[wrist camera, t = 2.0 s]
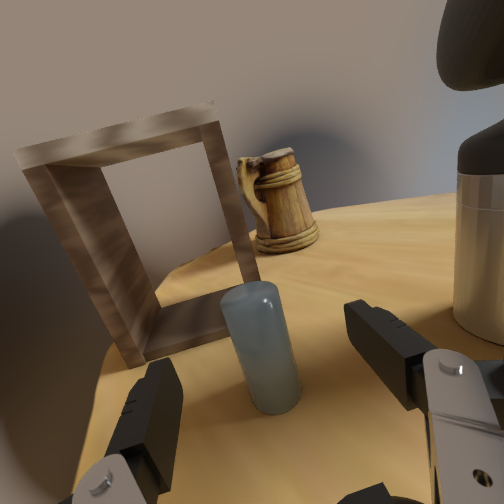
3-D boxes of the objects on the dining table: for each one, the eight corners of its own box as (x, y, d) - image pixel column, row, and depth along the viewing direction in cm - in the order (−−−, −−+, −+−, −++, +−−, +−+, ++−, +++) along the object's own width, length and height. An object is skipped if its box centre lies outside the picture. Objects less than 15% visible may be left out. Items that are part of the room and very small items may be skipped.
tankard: (328, 229, 73) (315, 139, 64) (296, 264, 55) (272, 147, 47) (276, 231, 83) (258, 155, 75) (235, 262, 66) (206, 167, 58)
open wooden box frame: (257, 285, 50) (213, 124, 40) (272, 324, 37) (213, 100, 27) (151, 316, 49) (79, 158, 39) (129, 369, 36) (11, 150, 26)
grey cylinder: (281, 362, 30) (259, 275, 26) (312, 392, 25) (290, 292, 21) (243, 387, 28) (212, 298, 24) (268, 426, 23) (234, 322, 19)
